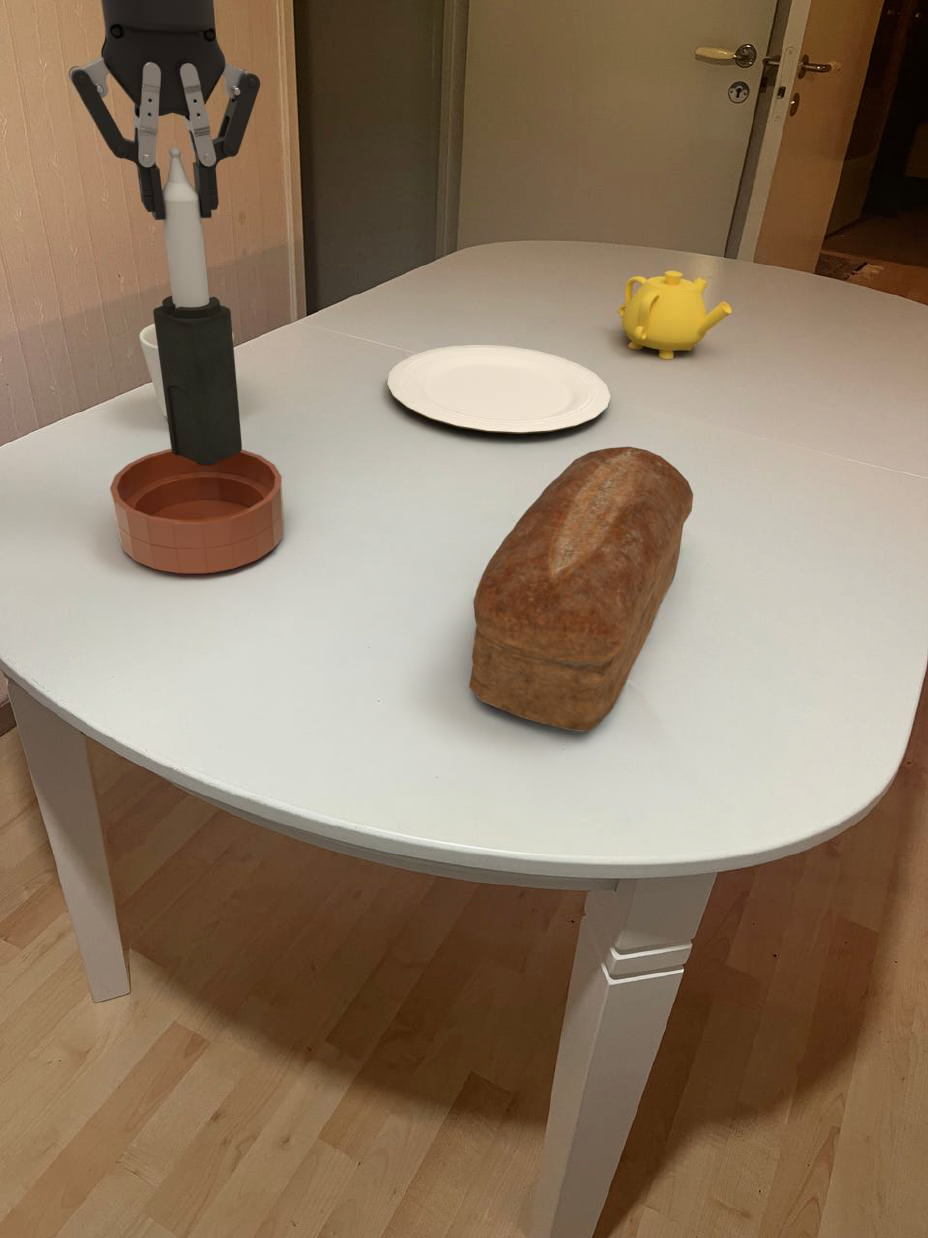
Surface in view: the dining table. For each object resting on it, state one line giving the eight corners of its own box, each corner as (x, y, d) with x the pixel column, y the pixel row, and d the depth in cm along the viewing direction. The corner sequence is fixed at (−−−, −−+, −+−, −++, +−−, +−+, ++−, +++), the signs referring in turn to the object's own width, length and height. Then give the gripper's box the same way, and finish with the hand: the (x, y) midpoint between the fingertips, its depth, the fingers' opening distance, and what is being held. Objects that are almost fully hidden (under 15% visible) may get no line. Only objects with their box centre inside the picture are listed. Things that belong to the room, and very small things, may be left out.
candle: (247, 448, 85) (223, 147, 70) (207, 468, 81) (172, 155, 67) (207, 433, 87) (175, 137, 72) (165, 451, 83) (123, 144, 69)
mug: (205, 445, 105) (195, 355, 99) (133, 425, 108) (119, 337, 102) (273, 404, 115) (268, 320, 109) (205, 387, 118) (197, 305, 112)
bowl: (134, 594, 81) (124, 535, 77) (110, 512, 92) (100, 457, 88) (303, 563, 86) (300, 507, 83) (262, 489, 97) (258, 437, 94)
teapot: (721, 366, 136) (738, 288, 130) (630, 363, 135) (644, 285, 128) (694, 333, 148) (709, 260, 141) (610, 330, 146) (621, 256, 140)
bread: (444, 713, 71) (453, 565, 63) (568, 532, 94) (586, 408, 86) (596, 764, 67) (626, 614, 59) (686, 563, 91) (716, 436, 83)
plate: (573, 465, 107) (575, 450, 105) (347, 413, 114) (347, 399, 113) (631, 381, 129) (633, 368, 128) (439, 343, 137) (440, 330, 136)
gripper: (242, -49, 68) (257, 203, 78) (35, -64, 63) (81, 208, 73) (269, -46, 62) (282, 225, 72) (45, -62, 57) (93, 232, 67)
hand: (181, 215), depth 73 cm, fingers closed on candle, 3 cm apart
